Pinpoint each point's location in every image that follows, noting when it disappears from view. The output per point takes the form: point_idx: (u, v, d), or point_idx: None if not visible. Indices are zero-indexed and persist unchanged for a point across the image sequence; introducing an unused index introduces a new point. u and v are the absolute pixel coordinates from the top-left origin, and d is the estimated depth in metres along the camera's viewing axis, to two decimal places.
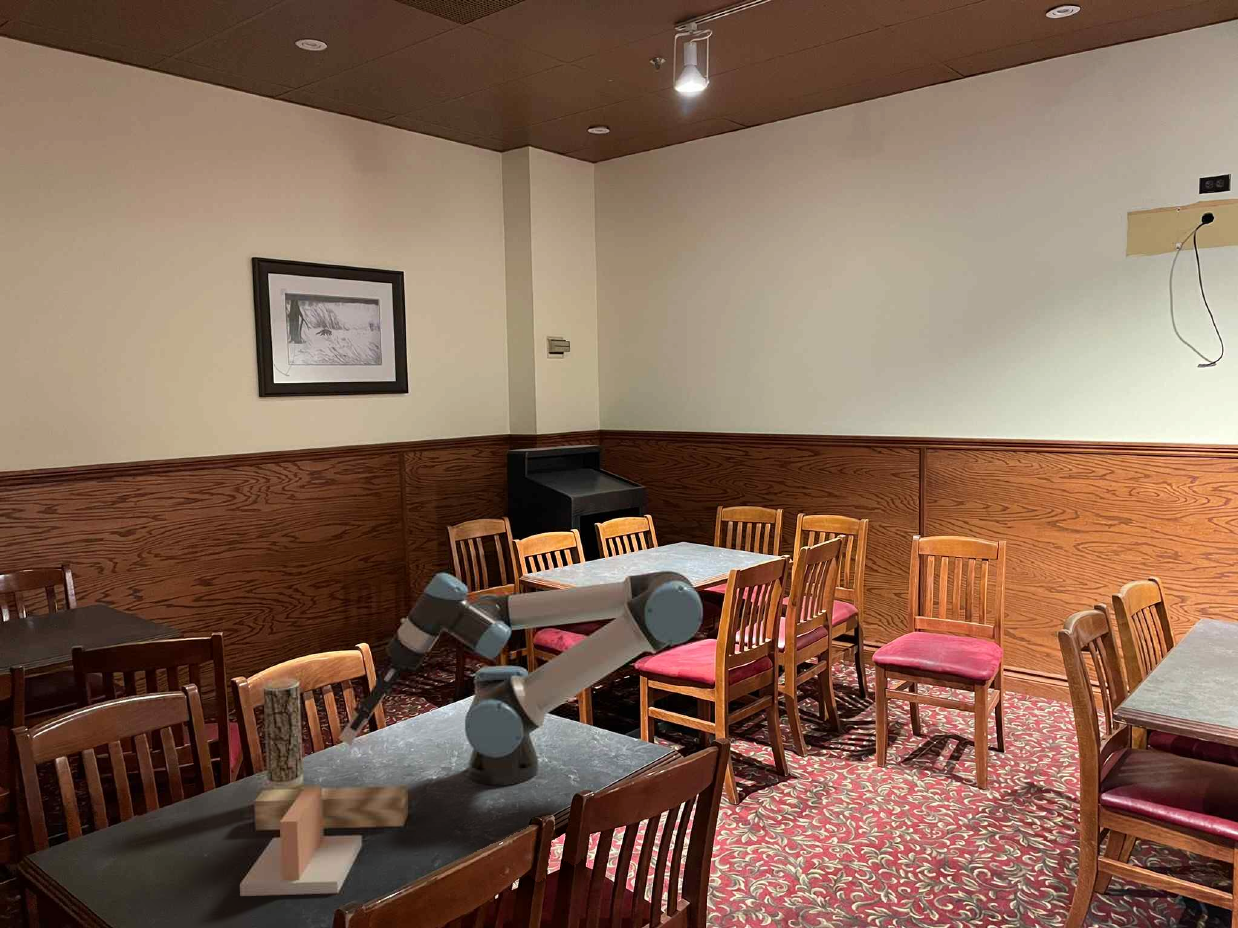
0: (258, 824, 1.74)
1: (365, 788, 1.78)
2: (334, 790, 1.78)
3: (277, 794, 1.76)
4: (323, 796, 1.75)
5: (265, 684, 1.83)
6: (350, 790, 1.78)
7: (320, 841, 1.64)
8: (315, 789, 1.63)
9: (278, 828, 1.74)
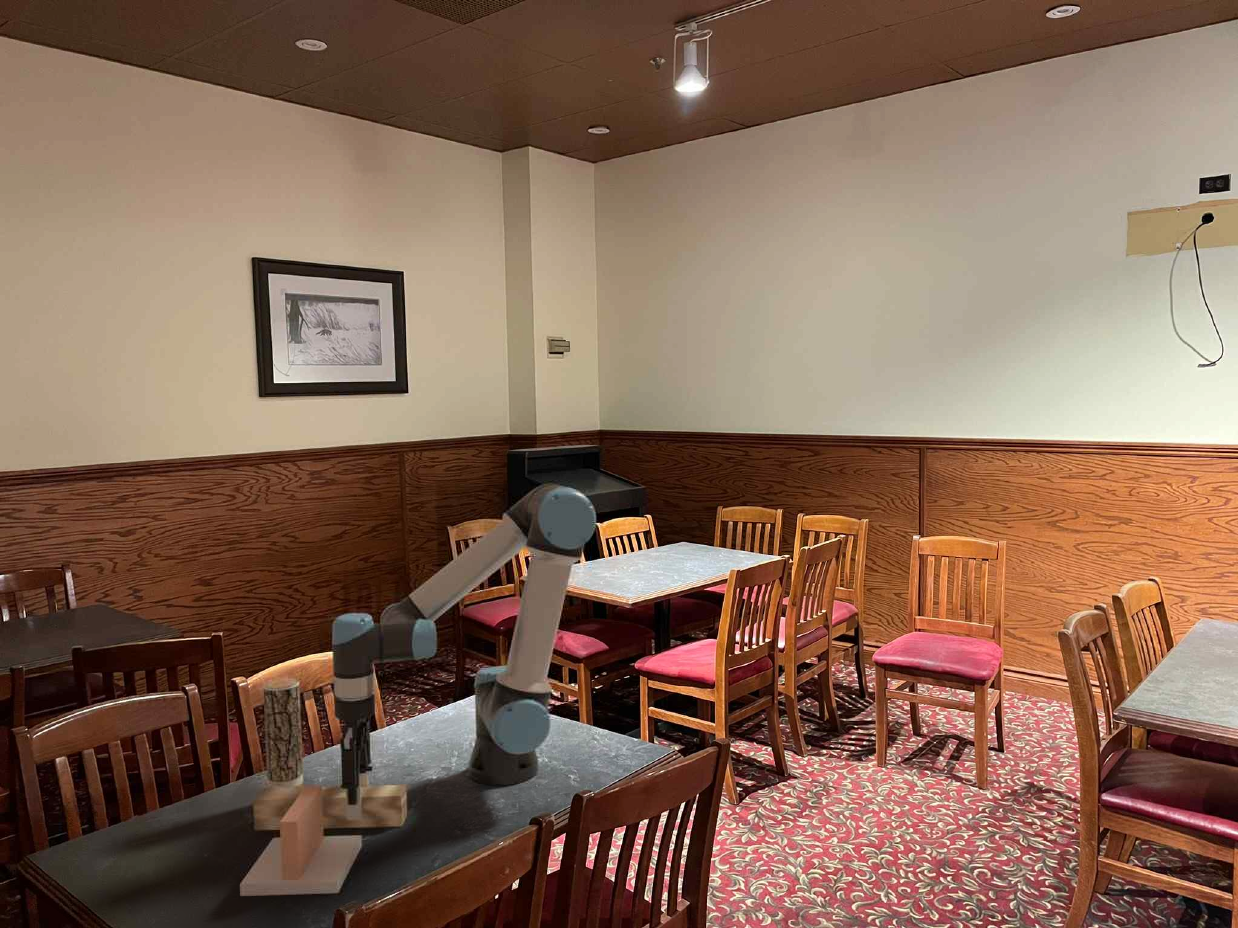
0: (257, 823, 1.74)
1: (364, 787, 1.78)
2: (333, 788, 1.78)
3: (276, 793, 1.76)
4: (322, 795, 1.75)
5: (265, 684, 1.83)
6: None
7: (320, 841, 1.64)
8: (315, 789, 1.63)
9: (277, 827, 1.74)
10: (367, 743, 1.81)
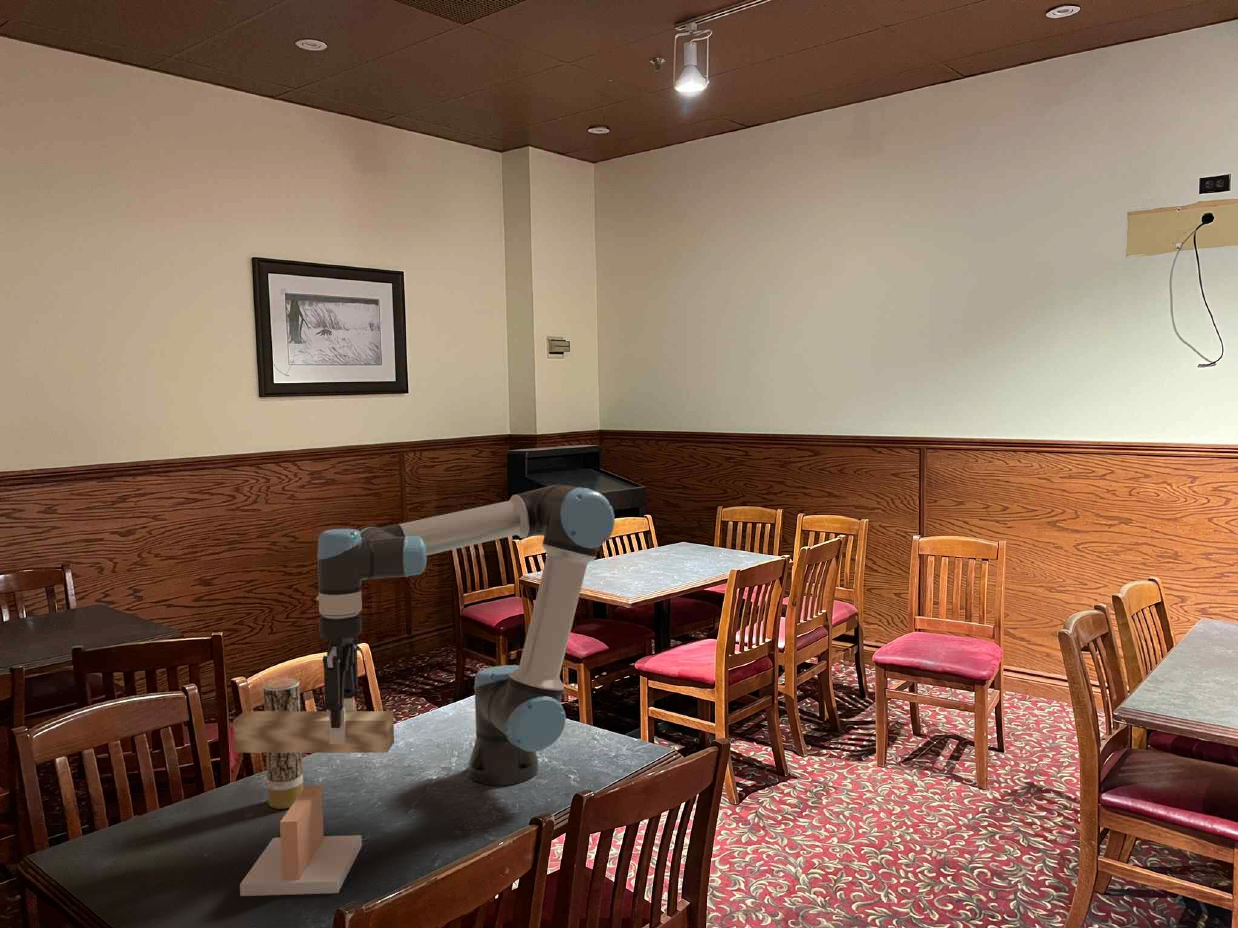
0: (237, 745, 1.66)
1: (349, 712, 1.70)
2: (316, 713, 1.70)
3: (258, 715, 1.68)
4: (305, 718, 1.67)
5: (265, 684, 1.83)
6: None
7: (320, 841, 1.64)
8: (315, 789, 1.63)
9: (257, 750, 1.66)
10: (354, 667, 1.73)
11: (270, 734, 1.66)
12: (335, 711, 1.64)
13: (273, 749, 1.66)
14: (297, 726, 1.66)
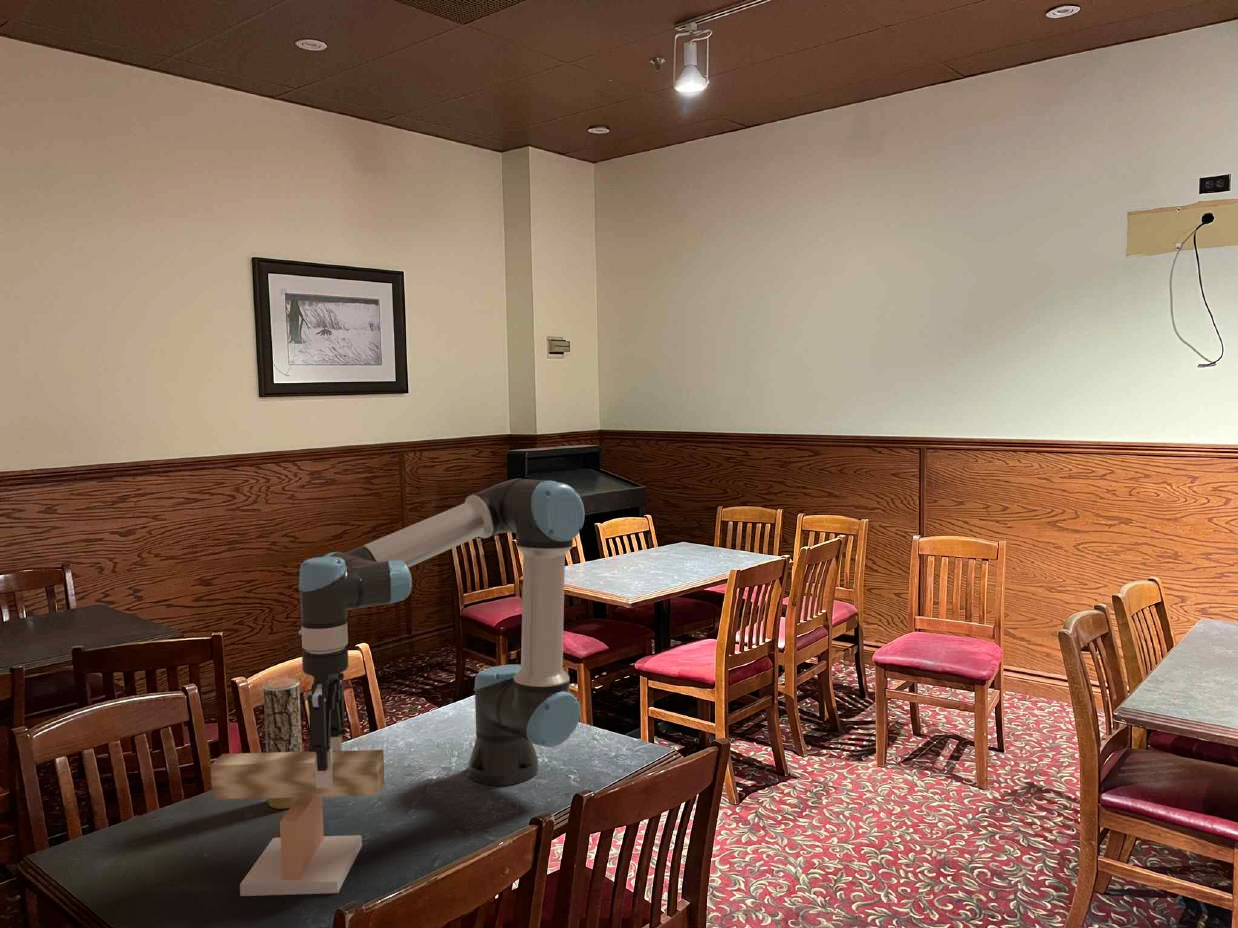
0: (215, 791, 1.55)
1: (336, 752, 1.59)
2: (301, 753, 1.59)
3: (237, 758, 1.57)
4: (288, 760, 1.56)
5: (265, 684, 1.83)
6: None
7: (320, 841, 1.64)
8: None
9: (237, 796, 1.55)
10: (340, 704, 1.62)
11: (251, 779, 1.55)
12: (321, 753, 1.53)
13: (254, 795, 1.55)
14: (280, 769, 1.55)
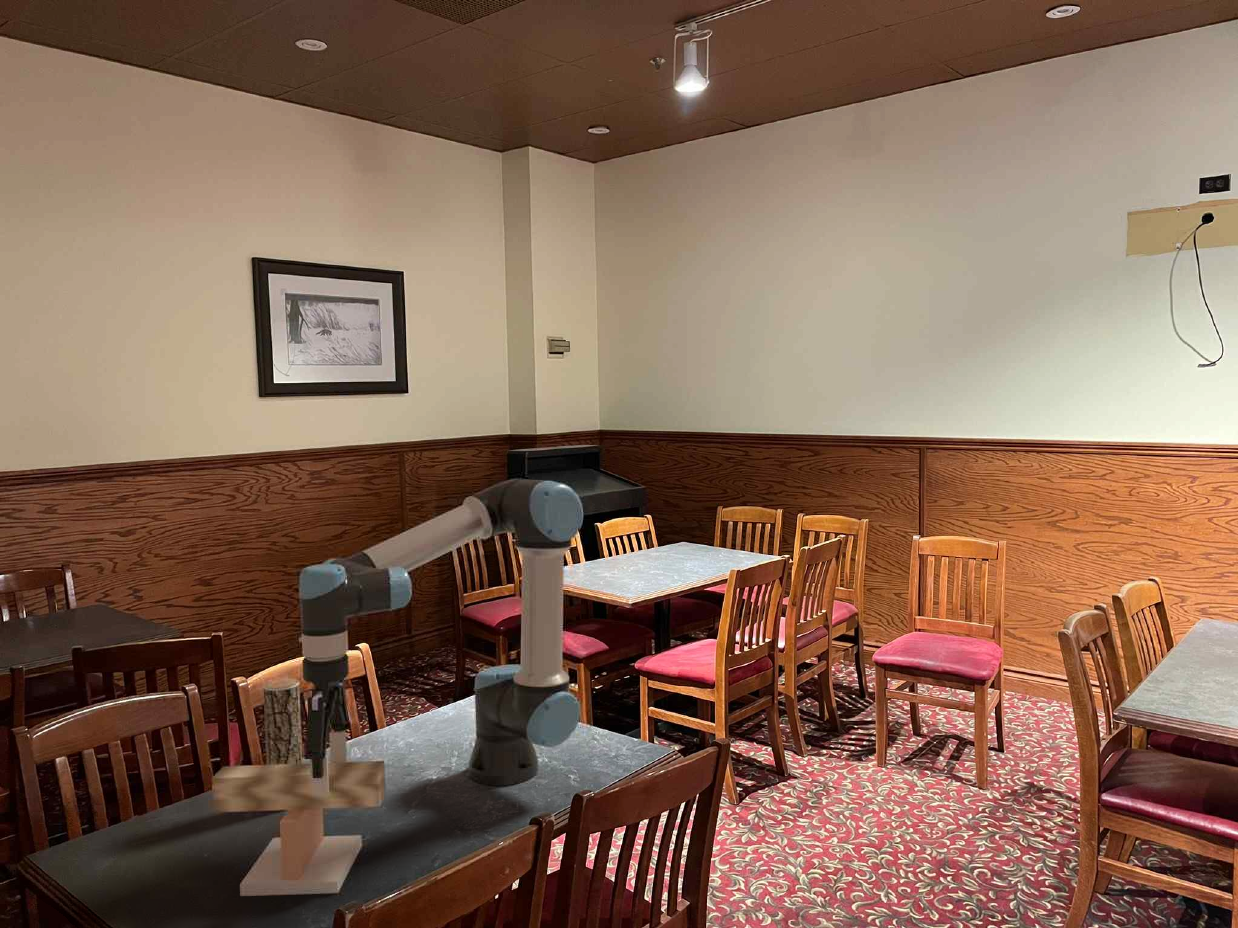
0: (216, 804, 1.55)
1: (337, 763, 1.59)
2: (302, 765, 1.59)
3: (238, 770, 1.57)
4: (289, 772, 1.56)
5: (265, 684, 1.83)
6: None
7: (320, 841, 1.64)
8: None
9: (239, 808, 1.55)
10: (343, 703, 1.64)
11: (252, 791, 1.55)
12: (317, 760, 1.50)
13: (256, 807, 1.55)
14: (281, 781, 1.55)
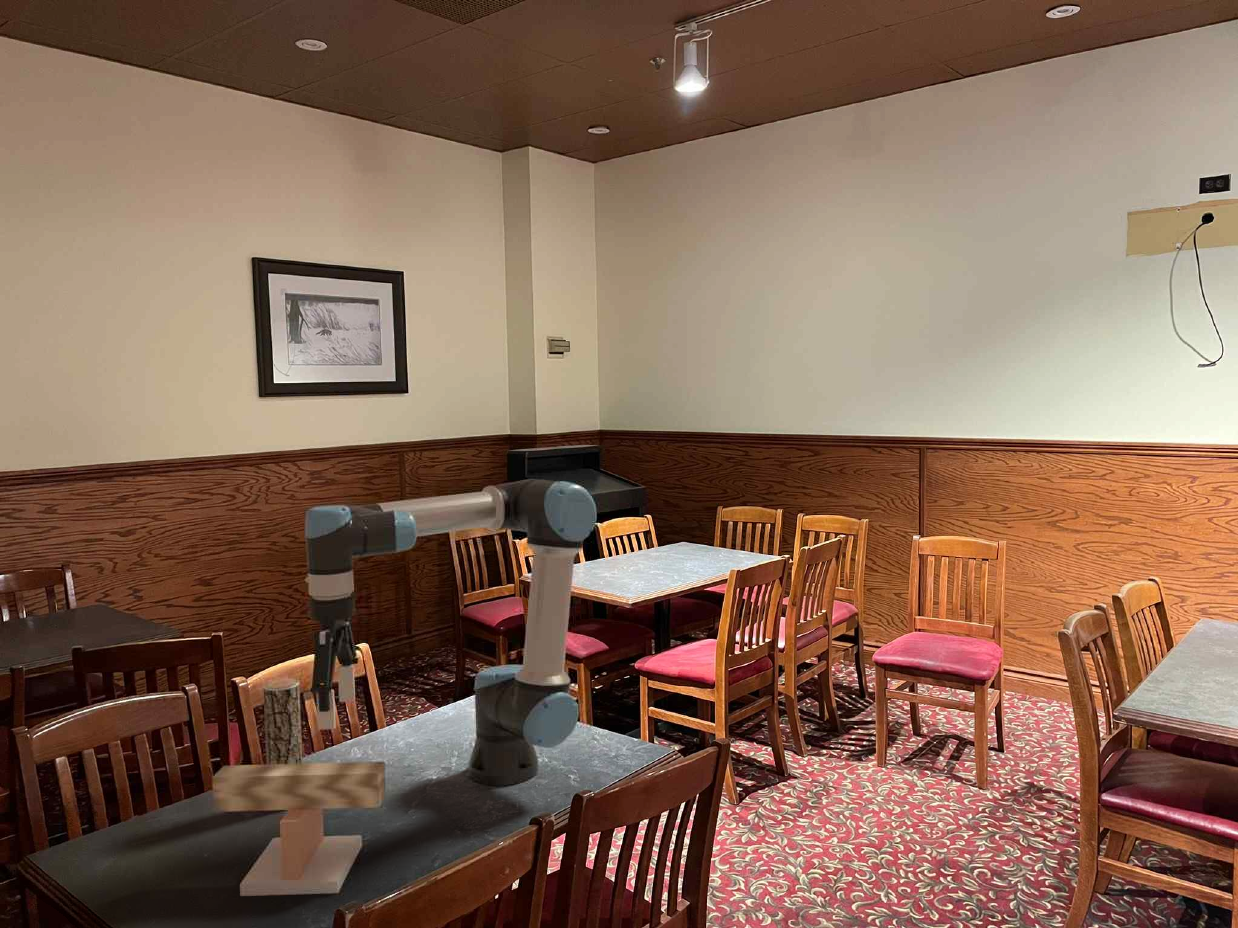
0: (216, 803, 1.55)
1: (337, 764, 1.59)
2: (302, 765, 1.59)
3: (238, 770, 1.57)
4: (290, 772, 1.56)
5: (265, 684, 1.83)
6: (321, 766, 1.59)
7: (320, 841, 1.64)
8: None
9: (239, 808, 1.55)
10: (350, 640, 1.66)
11: (252, 791, 1.55)
12: (323, 693, 1.51)
13: (256, 807, 1.55)
14: (281, 781, 1.55)
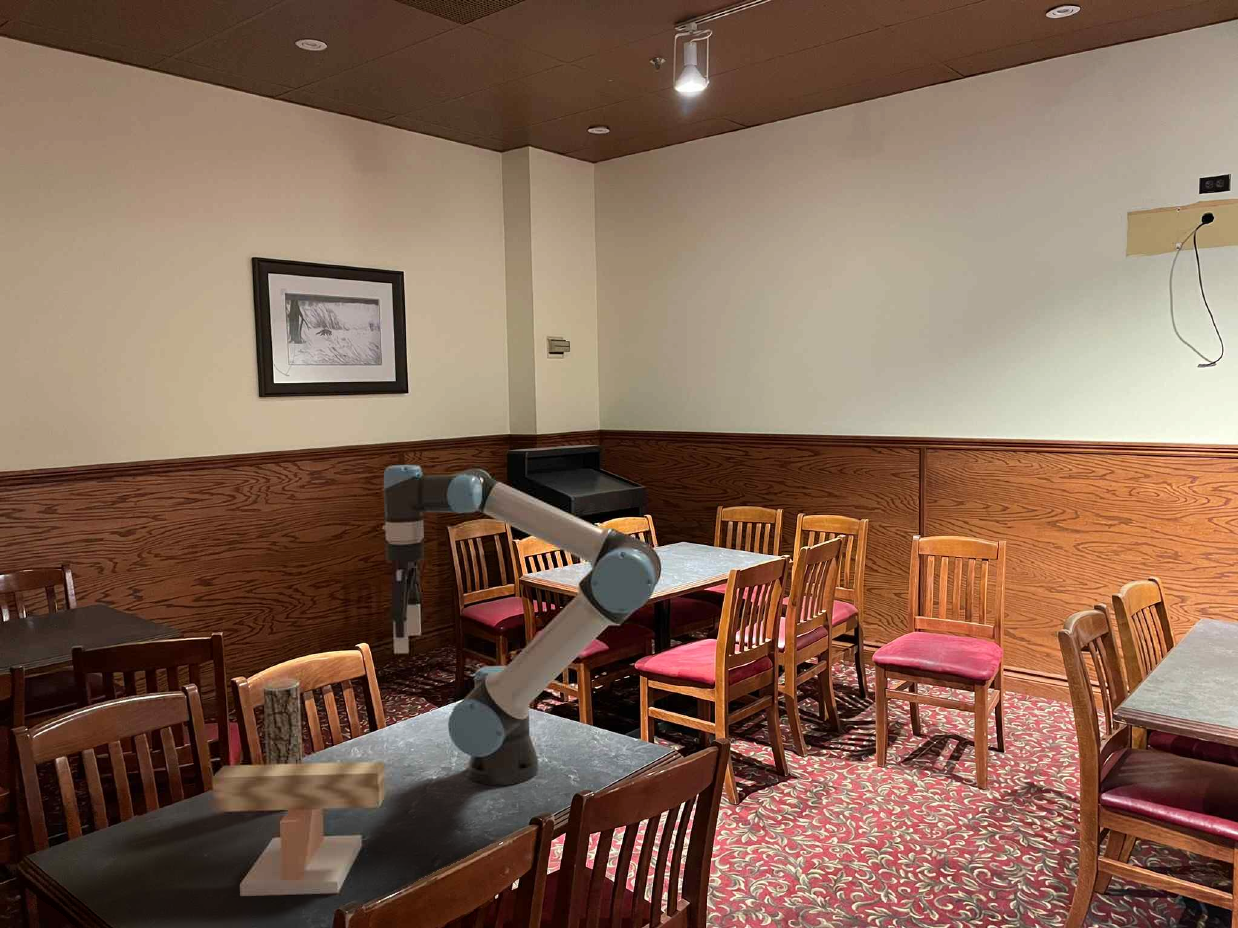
0: (216, 803, 1.55)
1: (337, 764, 1.59)
2: (302, 765, 1.59)
3: (238, 770, 1.57)
4: (290, 772, 1.56)
5: (265, 684, 1.83)
6: (321, 766, 1.59)
7: (320, 841, 1.64)
8: None
9: (239, 808, 1.55)
10: (417, 583, 1.93)
11: (252, 791, 1.55)
12: (399, 622, 1.78)
13: (256, 807, 1.55)
14: (281, 781, 1.55)
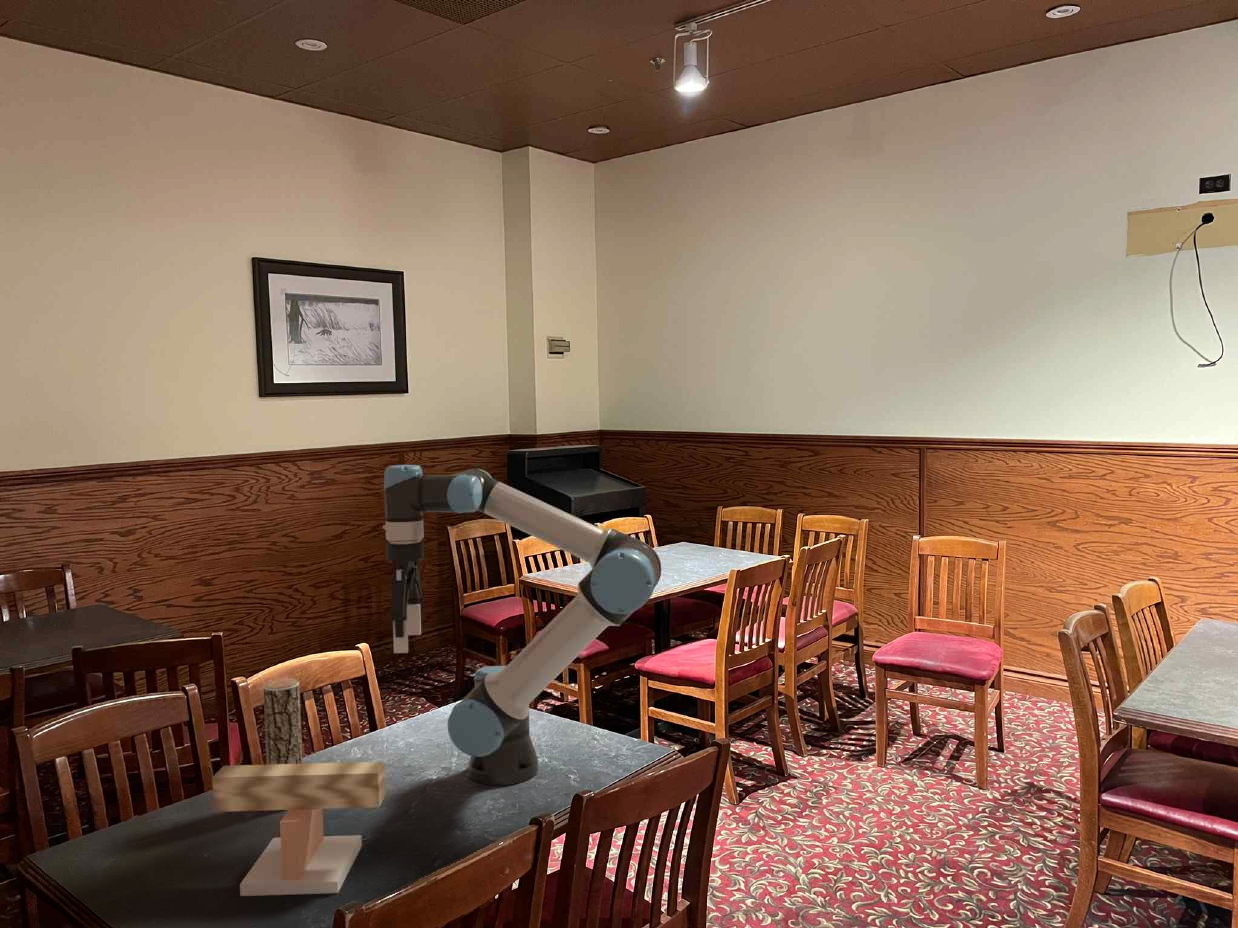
0: (216, 803, 1.55)
1: (337, 764, 1.59)
2: (302, 765, 1.59)
3: (238, 770, 1.57)
4: (290, 772, 1.56)
5: (265, 684, 1.83)
6: (321, 766, 1.59)
7: (320, 841, 1.64)
8: None
9: (239, 808, 1.55)
10: (417, 582, 1.93)
11: (252, 791, 1.55)
12: (399, 622, 1.78)
13: (256, 807, 1.55)
14: (281, 781, 1.55)
